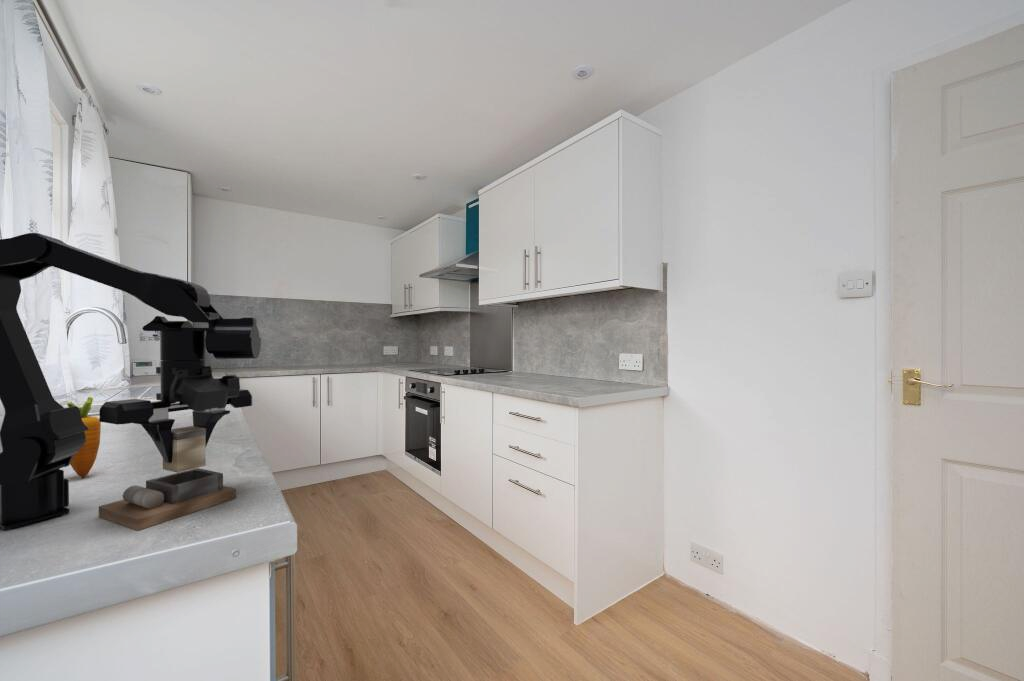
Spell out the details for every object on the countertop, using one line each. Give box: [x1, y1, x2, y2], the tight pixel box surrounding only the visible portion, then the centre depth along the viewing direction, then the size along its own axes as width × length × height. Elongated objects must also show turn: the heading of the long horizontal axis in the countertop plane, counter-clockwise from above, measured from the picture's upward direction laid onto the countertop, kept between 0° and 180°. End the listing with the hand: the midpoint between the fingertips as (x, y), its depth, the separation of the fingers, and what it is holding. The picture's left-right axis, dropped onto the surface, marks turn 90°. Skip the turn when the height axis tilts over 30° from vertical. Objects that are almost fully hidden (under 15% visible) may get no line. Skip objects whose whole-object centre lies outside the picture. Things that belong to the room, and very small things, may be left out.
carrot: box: [66, 396, 102, 478], centre depth 81 cm, size 5×5×15 cm
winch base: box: [98, 467, 237, 531], centre depth 66 cm, size 13×11×4 cm
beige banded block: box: [162, 425, 207, 473], centre depth 68 cm, size 4×4×6 cm
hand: (184, 459), depth 68 cm, fingers closed on beige banded block, 4 cm apart
